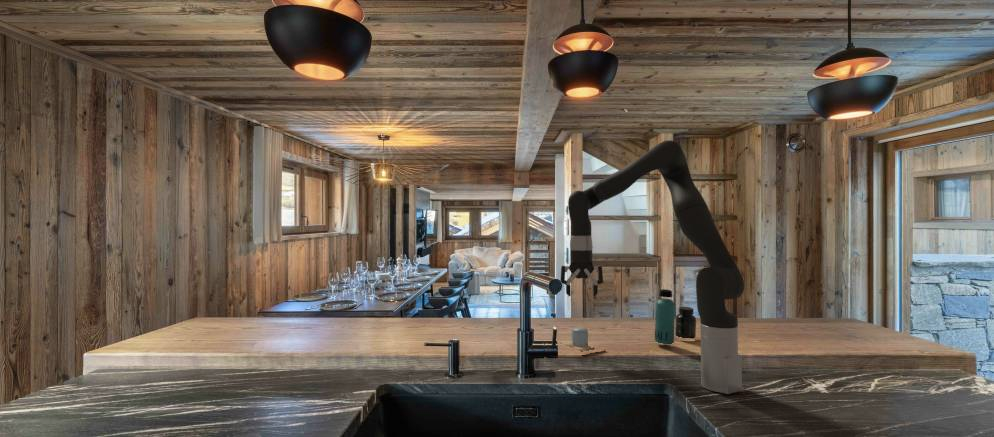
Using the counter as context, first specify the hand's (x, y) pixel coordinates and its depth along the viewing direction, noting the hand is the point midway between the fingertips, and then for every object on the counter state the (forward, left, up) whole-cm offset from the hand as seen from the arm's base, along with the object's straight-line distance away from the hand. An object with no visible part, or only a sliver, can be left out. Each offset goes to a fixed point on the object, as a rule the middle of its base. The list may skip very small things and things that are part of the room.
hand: (581, 296), depth 152 cm
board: (0, 0, -18) cm, 18 cm away
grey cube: (+1, 0, -17) cm, 17 cm away
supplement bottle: (-9, -40, -18) cm, 45 cm away
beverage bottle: (-11, -27, -18) cm, 34 cm away
